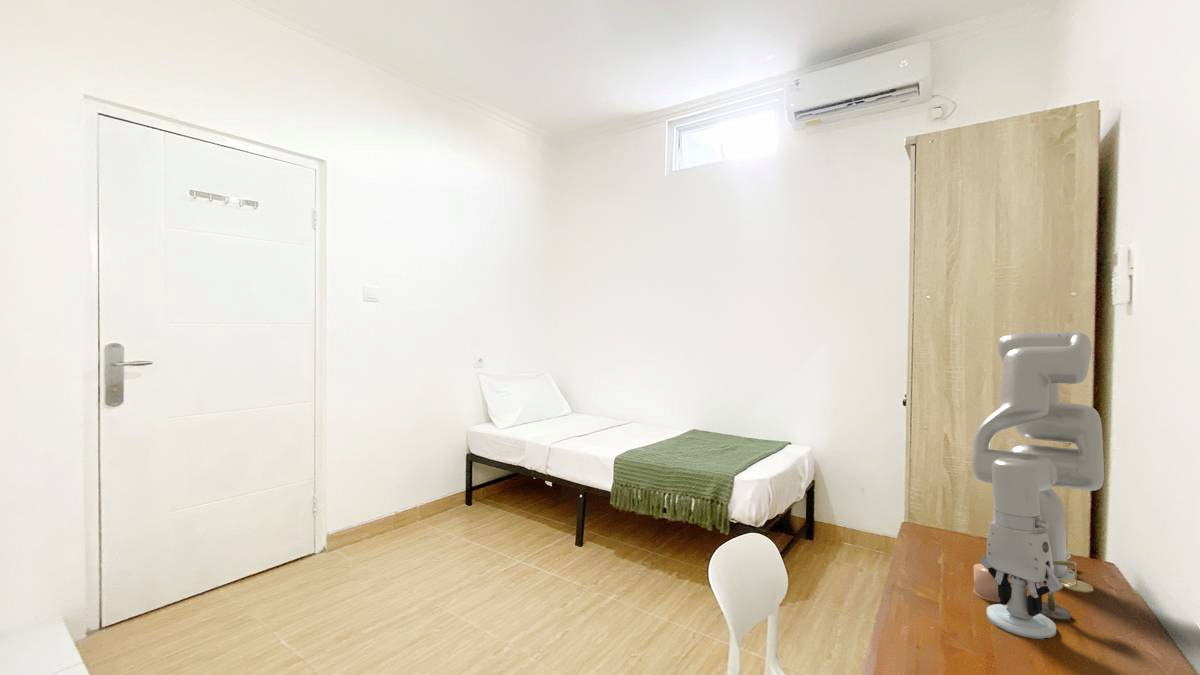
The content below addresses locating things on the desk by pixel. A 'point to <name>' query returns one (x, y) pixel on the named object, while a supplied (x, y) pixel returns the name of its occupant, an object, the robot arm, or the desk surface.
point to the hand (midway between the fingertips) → (1019, 607)
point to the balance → (1055, 610)
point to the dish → (1021, 623)
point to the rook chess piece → (1018, 598)
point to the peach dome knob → (985, 584)
